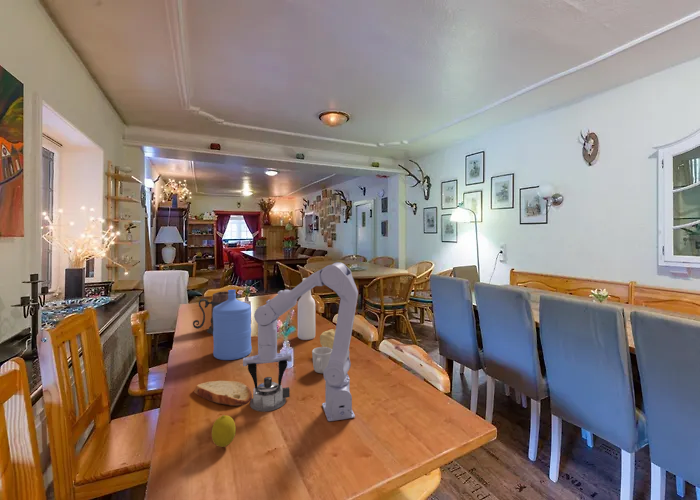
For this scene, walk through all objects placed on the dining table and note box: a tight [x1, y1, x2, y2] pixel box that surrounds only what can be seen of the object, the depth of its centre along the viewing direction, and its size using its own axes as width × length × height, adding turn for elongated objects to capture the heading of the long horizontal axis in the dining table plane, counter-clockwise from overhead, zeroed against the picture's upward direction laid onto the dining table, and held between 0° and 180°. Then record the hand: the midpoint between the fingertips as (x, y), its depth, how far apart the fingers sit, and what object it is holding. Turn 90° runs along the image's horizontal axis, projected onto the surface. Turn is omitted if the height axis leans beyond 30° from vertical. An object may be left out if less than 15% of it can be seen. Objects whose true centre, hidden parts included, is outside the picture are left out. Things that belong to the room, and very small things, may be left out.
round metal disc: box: [249, 397, 287, 413], centre depth 102 cm, size 11×11×1 cm
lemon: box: [211, 414, 237, 448], centre depth 80 cm, size 6×6×8 cm
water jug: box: [212, 289, 252, 361], centre depth 141 cm, size 16×16×28 cm
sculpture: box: [319, 328, 336, 349], centre depth 142 cm, size 12×12×11 cm
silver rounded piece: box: [257, 376, 278, 396], centre depth 101 cm, size 7×7×7 cm
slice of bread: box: [193, 380, 253, 407], centre depth 106 cm, size 18×18×4 cm
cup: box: [311, 346, 332, 374], centre depth 123 cm, size 11×8×8 cm
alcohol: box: [297, 277, 316, 341], centre depth 163 cm, size 9×9×30 cm
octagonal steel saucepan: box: [252, 384, 291, 409], centre depth 102 cm, size 9×11×4 cm
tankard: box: [192, 290, 228, 335], centre depth 174 cm, size 24×17×20 cm
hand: (267, 385), depth 101 cm, fingers open, 6 cm apart
